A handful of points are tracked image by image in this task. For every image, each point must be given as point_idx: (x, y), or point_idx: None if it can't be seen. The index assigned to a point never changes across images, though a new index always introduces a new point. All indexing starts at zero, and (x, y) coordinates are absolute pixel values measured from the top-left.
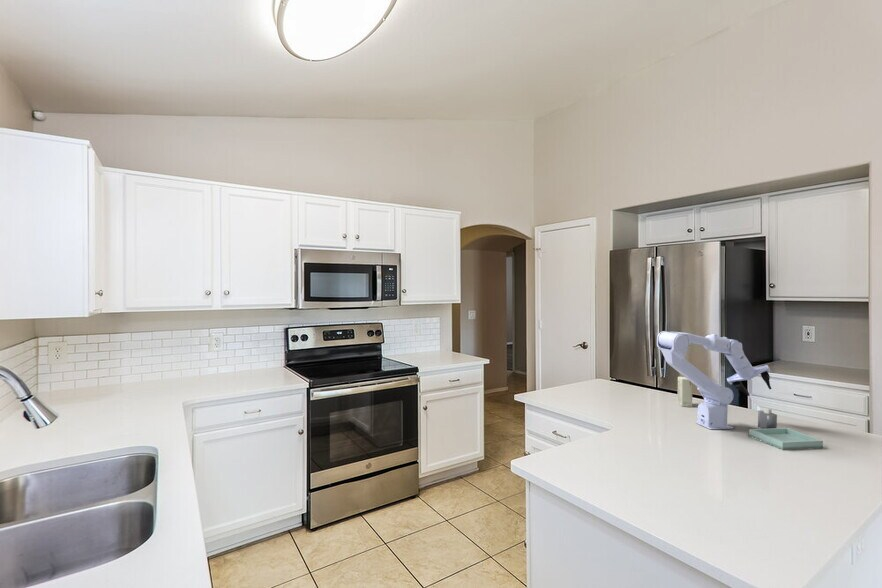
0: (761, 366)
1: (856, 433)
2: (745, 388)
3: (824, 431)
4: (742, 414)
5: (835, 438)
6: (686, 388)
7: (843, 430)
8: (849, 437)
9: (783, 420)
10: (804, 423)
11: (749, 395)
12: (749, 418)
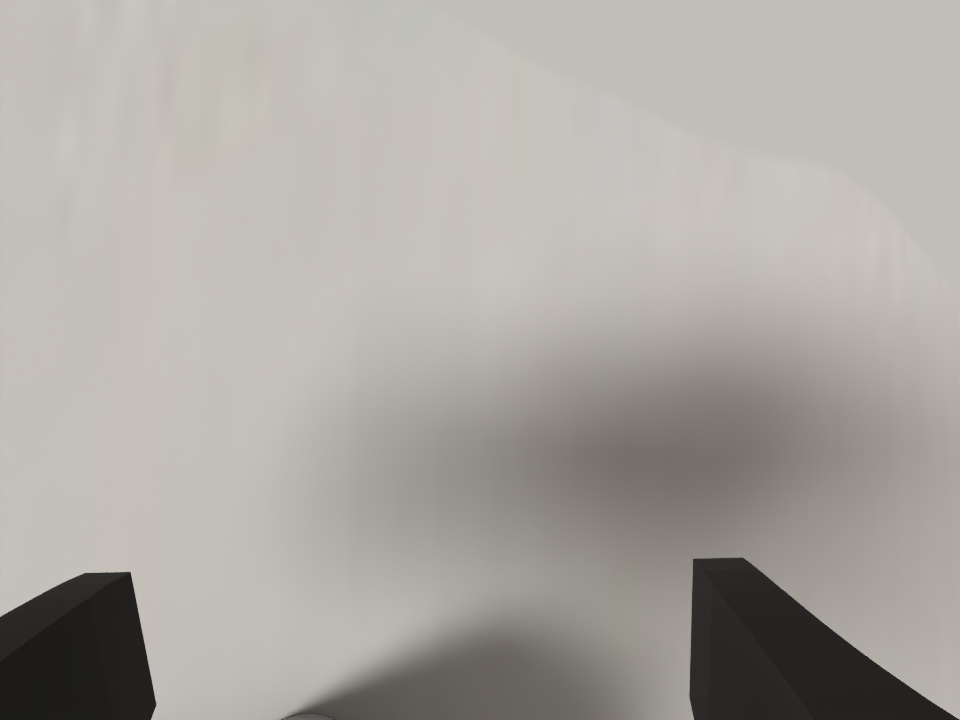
0: None
1: (949, 349)
2: (29, 682)
3: (796, 452)
4: (41, 170)
5: None
6: None
7: (890, 307)
8: (925, 530)
9: (507, 221)
10: (668, 236)
11: (148, 717)
12: (134, 364)
